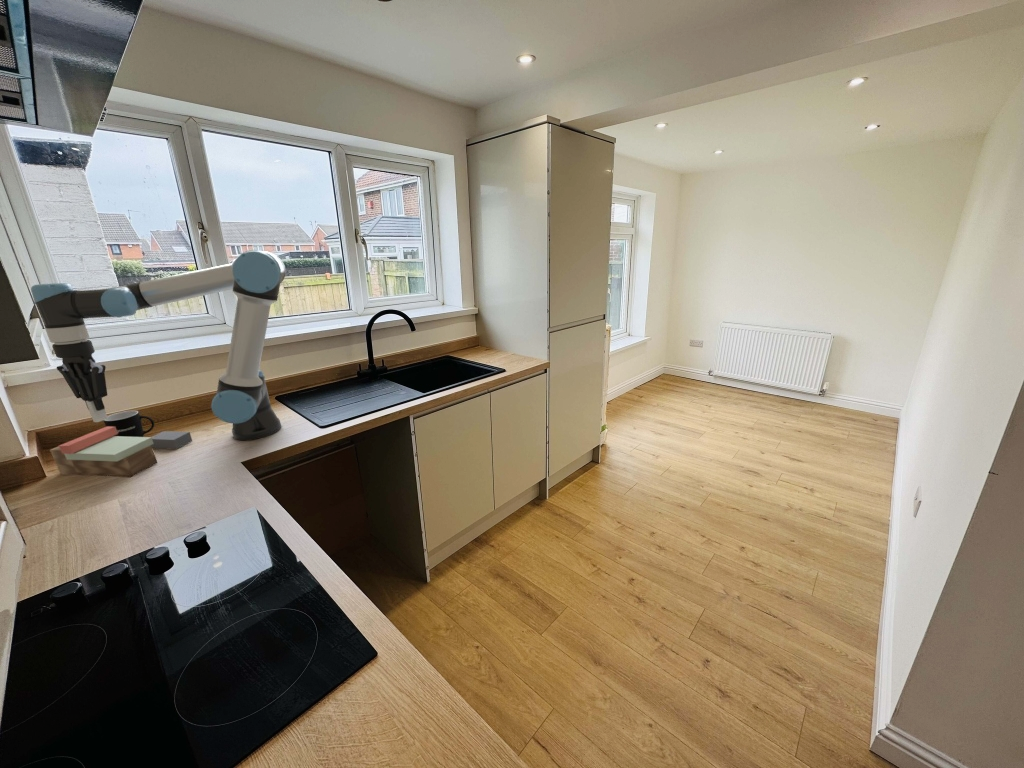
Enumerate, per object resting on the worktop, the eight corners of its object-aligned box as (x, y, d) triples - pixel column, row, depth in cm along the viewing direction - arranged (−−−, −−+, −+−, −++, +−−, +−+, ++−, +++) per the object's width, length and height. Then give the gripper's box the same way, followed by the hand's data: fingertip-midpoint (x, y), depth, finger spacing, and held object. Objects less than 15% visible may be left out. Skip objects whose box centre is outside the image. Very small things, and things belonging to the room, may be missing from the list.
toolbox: (157, 462, 126) (149, 439, 123) (130, 477, 118) (121, 452, 116) (91, 460, 129) (81, 437, 126) (60, 474, 121) (49, 449, 118)
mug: (111, 450, 135) (100, 423, 132) (115, 441, 142) (105, 414, 139) (157, 440, 142) (148, 413, 138) (159, 431, 149) (150, 406, 145)
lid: (153, 443, 125) (151, 437, 125) (117, 461, 115) (114, 454, 114) (106, 442, 127) (104, 435, 127) (66, 459, 117) (63, 452, 116)
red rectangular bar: (118, 433, 127) (115, 426, 126) (71, 453, 115) (67, 446, 114) (109, 433, 127) (107, 426, 127) (61, 453, 115) (58, 445, 114)
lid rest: (192, 441, 140) (189, 431, 139) (177, 449, 135) (173, 439, 133) (166, 440, 141) (163, 431, 140) (150, 448, 136) (147, 438, 135)
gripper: (106, 338, 113) (133, 415, 120) (66, 338, 114) (95, 414, 122) (76, 344, 106) (106, 426, 113) (34, 344, 107) (66, 424, 115)
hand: (100, 420), depth 118 cm, fingers closed
